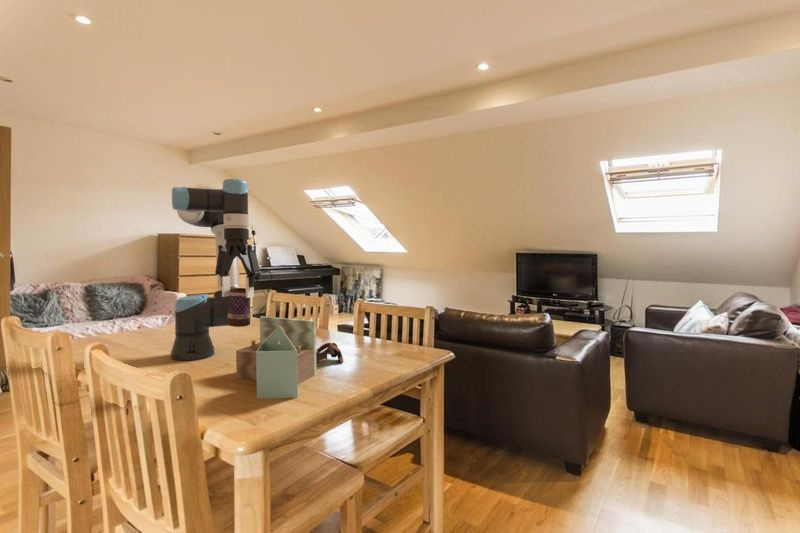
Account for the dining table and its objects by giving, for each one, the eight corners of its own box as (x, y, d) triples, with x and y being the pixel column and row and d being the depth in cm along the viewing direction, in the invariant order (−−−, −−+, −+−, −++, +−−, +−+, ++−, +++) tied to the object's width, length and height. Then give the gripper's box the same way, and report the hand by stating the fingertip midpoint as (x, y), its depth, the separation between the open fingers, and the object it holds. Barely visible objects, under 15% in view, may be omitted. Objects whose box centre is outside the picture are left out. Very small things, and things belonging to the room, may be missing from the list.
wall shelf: (236, 377, 135) (235, 323, 134) (263, 366, 147) (262, 316, 146) (293, 386, 127) (292, 328, 126) (316, 374, 139) (315, 321, 138)
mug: (254, 325, 135) (255, 289, 134) (231, 327, 130) (233, 289, 130) (242, 319, 143) (243, 285, 142) (220, 321, 138) (221, 285, 137)
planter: (241, 392, 123) (239, 325, 121) (264, 385, 129) (263, 321, 128) (274, 405, 113) (273, 333, 111) (298, 397, 119) (297, 328, 118)
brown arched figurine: (343, 367, 148) (331, 349, 146) (320, 377, 150) (308, 359, 148) (348, 350, 160) (337, 333, 158) (327, 360, 162) (316, 343, 159)
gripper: (201, 228, 136) (203, 296, 137) (254, 226, 127) (256, 299, 128) (220, 229, 143) (221, 294, 144) (271, 227, 134) (272, 296, 135)
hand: (237, 296), depth 136 cm, fingers closed on mug, 9 cm apart
